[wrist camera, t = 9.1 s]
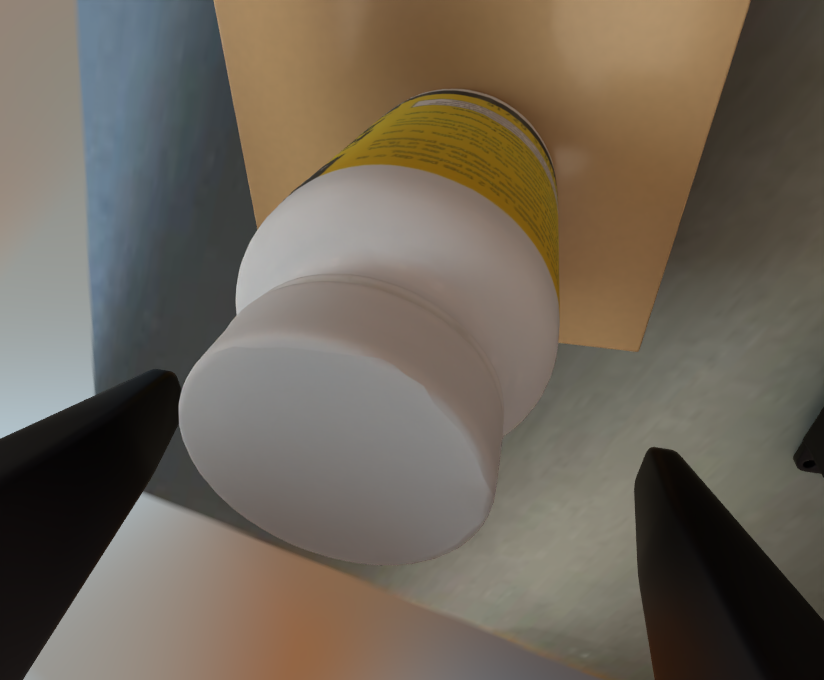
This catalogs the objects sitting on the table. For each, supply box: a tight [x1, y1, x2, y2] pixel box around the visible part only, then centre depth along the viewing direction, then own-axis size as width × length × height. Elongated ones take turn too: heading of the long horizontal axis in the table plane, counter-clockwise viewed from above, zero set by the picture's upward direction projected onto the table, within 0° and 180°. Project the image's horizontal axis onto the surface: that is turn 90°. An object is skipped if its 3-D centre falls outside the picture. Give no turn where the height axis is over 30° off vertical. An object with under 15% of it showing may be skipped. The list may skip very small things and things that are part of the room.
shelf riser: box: [214, 0, 751, 352], centre depth 14 cm, size 12×16×6 cm
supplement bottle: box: [179, 89, 560, 565], centre depth 10 cm, size 5×5×10 cm
